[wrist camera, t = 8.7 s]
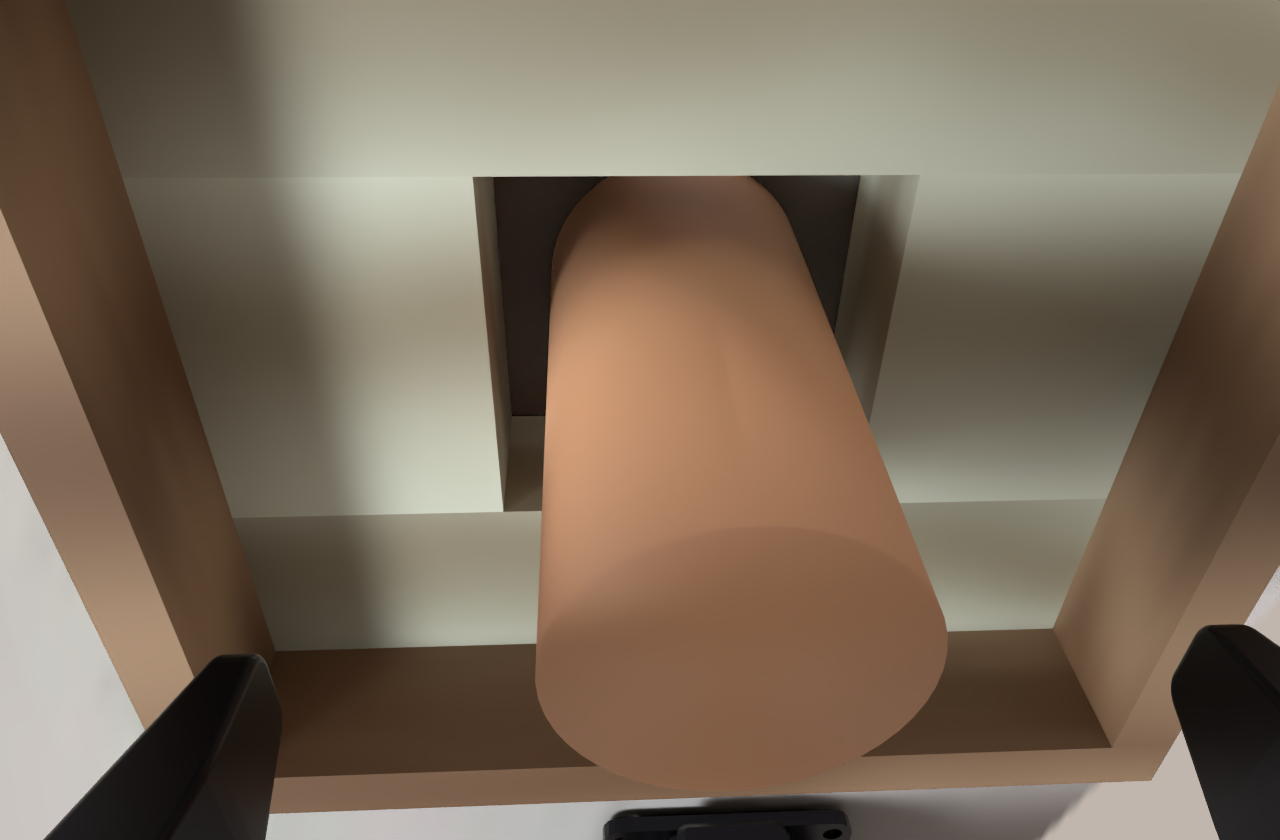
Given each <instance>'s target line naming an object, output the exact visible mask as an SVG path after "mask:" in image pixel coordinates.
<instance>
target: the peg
mask: <svg viewBox="0 0 1280 840" xmlns="http://www.w3.org/2000/svg"><path fill="white" fill-rule="evenodd" d="M947 650H948V633H947V628H946V622H945V617H944V615H943V612H942V610H941V607H940V605H939V602H938V600H937V597H936V594H935V592H934V589H933V587H932V584H931V582H930V579H929V577H928V574H927V571H926V569H925V566H924V564H923V561H922V559H921V556H920V554H919V551H918V548H917V546H916V543H915V541H914V538H913V536H912V533H911V531H910V528H909V526H908V523H907V520H906V518H905V515H904V513H903V510H902V508H901V505H900V503H899V500H898V497H897V495H896V492H895V490H894V487H893V485H892V482H891V480H890V477H889V475H888V472H887V469H886V467H885V464H884V462H883V459H882V457H881V454H880V452H879V449H878V446H877V444H876V441H875V439H874V436H873V434H872V431H871V429H870V426H869V423H868V421H867V418H866V416H865V413H864V411H863V408H862V406H861V403H860V401H859V398H858V395H857V393H856V390H855V388H854V385H853V383H852V380H851V378H850V375H849V372H848V370H847V367H846V365H845V362H844V360H843V357H842V355H841V352H840V349H839V347H838V344H837V342H836V339H835V337H834V334H833V332H832V329H831V327H830V324H829V321H828V319H827V316H826V314H825V311H824V309H823V306H822V304H821V301H820V298H819V296H818V293H817V291H816V288H815V286H814V283H813V281H812V278H811V276H810V273H809V270H808V268H807V265H806V263H805V260H804V258H803V255H802V253H801V250H800V247H799V245H798V242H797V240H796V237H795V235H794V232H793V230H792V227H791V225H790V222H789V220H788V218H787V216H786V214H785V212H784V211H783V209H782V207H781V206H780V204H779V203H778V202H777V200H776V199H775V198H774V197H773V196H772V194H771V193H770V192H769V191H768V190H767V189H766V188H764V187H763V186H762V185H761V184H760V183H759V182H758V181H756V180H755V179H753V178H752V177H750V176H609V177H608V178H606V179H604V180H603V181H601V182H600V183H598V184H597V185H596V186H595V187H594V188H592V189H591V190H590V191H589V192H588V193H587V194H586V195H585V196H584V197H583V198H582V199H581V200H580V201H579V202H578V203H577V204H576V206H575V207H574V208H573V210H572V211H571V213H570V214H569V216H568V217H567V219H566V221H565V223H564V224H563V226H562V228H561V230H560V232H559V235H558V238H557V241H556V244H555V248H554V254H553V259H552V276H551V301H550V325H549V350H548V374H547V399H546V423H545V448H544V472H543V497H542V521H541V546H540V570H539V595H538V619H537V644H536V669H535V684H536V690H537V695H538V700H539V702H540V705H541V707H542V710H543V712H544V715H545V716H546V718H547V720H548V721H549V723H550V724H551V726H552V727H553V729H554V730H555V731H556V732H557V734H558V735H559V736H560V737H561V738H562V739H563V740H564V741H565V742H566V743H567V744H568V745H569V746H570V747H572V748H573V749H574V750H575V751H577V752H578V753H579V754H580V755H582V756H583V757H585V758H587V759H588V760H590V761H591V762H593V763H595V764H596V765H598V766H600V767H602V768H605V769H607V770H609V771H611V772H613V773H615V774H618V775H621V776H624V777H627V778H629V779H632V780H635V781H639V782H643V783H647V784H651V785H655V786H660V787H666V788H673V789H679V790H692V791H738V790H751V789H758V788H765V787H771V786H777V785H781V784H786V783H790V782H795V781H799V780H802V779H805V778H809V777H812V776H815V775H818V774H821V773H824V772H827V771H829V770H832V769H834V768H837V767H839V766H842V765H844V764H846V763H848V762H850V761H852V760H854V759H856V758H858V757H860V756H862V755H864V754H866V753H867V752H869V751H871V750H872V749H874V748H876V747H877V746H879V745H881V744H882V743H883V742H885V741H886V740H887V739H889V738H890V737H891V736H893V735H894V734H896V733H897V732H898V731H899V730H900V729H902V728H903V727H904V726H905V725H906V724H907V723H908V722H909V721H910V720H911V719H912V718H913V717H914V716H915V715H916V714H917V713H918V711H919V710H920V709H921V708H922V707H923V706H924V704H925V703H926V702H927V700H928V699H929V697H930V696H931V694H932V692H933V691H934V689H935V688H936V686H937V684H938V681H939V679H940V677H941V674H942V672H943V670H944V665H945V661H946V656H947Z"/></svg>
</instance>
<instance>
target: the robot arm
mask: <svg viewBox="0 0 1280 840" xmlns="http://www.w3.org/2000/svg"><path fill="white" fill-rule="evenodd" d="M1171 696H1172V701H1173V705H1174V708H1175V710H1176V713H1177V716H1178V719H1179V722H1180V725H1181V728H1182V731H1183V734H1184V737H1185V740H1186V743H1187V746H1188V749H1189V752H1190V755H1191V758H1192V761H1193V764H1194V766H1195V770H1196V773H1197V776H1198V778H1199V782H1200V784H1201V788H1202V790H1203V793H1204V796H1205V799H1206V802H1207V805H1208V808H1209V811H1210V814H1211V817H1212V820H1213V823H1214V826H1215V829H1216V831H1217V834H1218V836H1219V839H1220V840H1280V646H1278V645H1277V644H1275V643H1274V642H1272V641H1271V640H1270V639H1268V638H1267V637H1265V636H1264V635H1263V634H1261V633H1260V632H1258V631H1257V630H1255V629H1253V628H1251V627H1249V626H1246V625H1241V624H1224V625H1207V626H1204V627H1203V628H1201V629H1200V630H1198V632H1197V633H1196V634H1195V636H1194V638H1193V640H1192V641H1191V643H1190V645H1189V647H1188V649H1187V650H1186V652H1185V654H1184V656H1183V658H1182V659H1181V661H1180V663H1179V665H1178V667H1177V668H1176V670H1175V672H1174V674H1173V676H1172V681H1171ZM282 722H283V719H282V708H281V704H280V701H279V698H278V695H277V692H276V689H275V686H274V683H273V681H272V678H271V675H270V672H269V669H268V666H267V663H266V661H265V659H264V658H263V657H262V656H261V655H259V654H224V655H219V656H217V657H215V658H213V659H212V660H211V661H210V662H208V663H207V664H206V666H205V667H204V668H203V669H202V670H201V671H200V672H199V673H198V674H197V675H196V676H195V677H194V678H193V679H192V681H191V682H190V683H189V684H188V685H187V686H186V687H185V688H184V689H183V690H182V691H181V692H180V693H179V695H178V696H177V697H176V698H175V699H174V700H173V701H172V702H171V703H170V704H169V705H168V706H167V707H166V708H165V710H164V711H163V712H162V713H161V714H160V715H159V716H158V717H157V718H156V719H155V720H154V721H153V722H152V724H151V725H150V726H149V727H148V728H147V729H146V730H145V731H144V732H143V733H142V734H141V735H140V736H139V737H138V739H137V740H136V741H135V742H134V743H133V744H132V745H131V746H130V747H129V748H128V749H127V750H126V751H125V753H124V754H123V755H122V756H121V757H120V758H119V759H118V760H117V761H116V762H115V763H114V764H113V765H112V766H111V768H110V769H109V770H108V771H107V772H106V773H105V774H104V775H103V776H102V777H101V778H100V779H99V780H98V782H97V783H96V784H95V785H94V786H93V787H92V788H91V789H90V790H89V791H88V792H87V793H86V794H85V795H84V797H83V798H82V799H81V800H80V801H79V802H78V803H77V804H76V805H75V806H74V807H73V808H72V810H71V811H70V812H69V813H68V814H67V815H66V816H65V817H64V818H63V819H62V820H61V821H60V823H59V824H58V825H57V826H56V827H55V828H54V829H53V830H52V831H51V832H50V833H49V834H48V835H47V836H46V837H45V839H44V840H265V838H266V831H267V825H268V818H269V812H270V805H271V799H272V792H273V786H274V779H275V773H276V766H277V760H278V753H279V747H280V740H281V734H282ZM850 836H851V828H850V824H849V819H848V815H847V814H846V813H845V812H843V811H840V810H808V811H782V812H756V813H730V814H704V815H679V816H653V817H627V818H617V819H613V820H610V821H608V822H607V823H606V824H605V825H604V827H603V840H850Z"/></svg>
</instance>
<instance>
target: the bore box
mask: <svg viewBox="0 0 1280 840" xmlns="http://www.w3.org/2000/svg"><path fill="white" fill-rule="evenodd" d="M756 175H861V176H860V182H859V188H858V194H857V201H856V207H855V213H854V219H853V225H852V231H851V237H850V243H849V249H848V255H847V261H846V267H845V273H844V280H843V286H842V292H841V298H840V304H839V310H838V316H837V322H836V328H835V334H834V337H835V339H836V342H837V344H838V347H839V349H840V352H841V355H842V357H843V360H844V362H845V365H846V367H847V370H848V372H849V375H850V378H851V380H852V383H853V385H854V388H855V390H856V393H857V395H858V398H859V401H860V403H861V406H862V408H863V411H864V413H865V416H866V418H867V421H868V423H869V426H870V429H871V431H872V434H873V436H874V439H875V441H876V444H877V446H878V449H879V452H880V454H881V457H882V459H883V462H884V464H885V467H886V469H887V472H888V475H889V477H890V480H891V482H892V485H893V487H894V490H895V492H896V495H897V497H898V500H899V503H900V505H901V508H902V510H903V513H904V515H905V518H906V520H907V523H908V526H909V528H910V531H911V533H912V536H913V538H914V541H915V543H916V546H917V548H918V551H919V554H920V556H921V559H922V561H923V564H924V566H925V569H926V571H927V574H928V577H929V579H930V582H931V584H932V587H933V589H934V592H935V594H936V597H937V600H938V602H939V605H940V607H941V610H942V612H943V615H944V617H945V622H946V628H947V633H948V650H947V656H946V661H945V665H944V670H943V672H942V674H941V677H940V679H939V681H938V684H937V686H936V688H935V689H934V691H933V692H932V694H931V696H930V697H929V699H928V700H927V702H926V703H925V704H924V706H923V707H922V708H921V709H920V710H919V711H918V713H917V714H916V715H915V716H914V717H913V718H912V719H911V720H910V721H909V722H908V723H907V724H906V725H905V726H904V727H903V728H902V729H900V730H899V731H898V732H897V733H896V734H894V735H893V736H891V737H890V738H889V739H887V740H886V741H885V742H883V743H882V744H881V745H879V746H877V747H876V748H874V749H872V750H871V751H869V752H867V753H866V754H864V755H862V756H860V757H858V758H856V759H854V760H852V761H850V762H848V763H846V764H844V765H842V766H839V767H837V768H834V769H832V770H829V771H827V772H824V773H821V774H818V775H815V776H812V777H809V778H805V779H802V780H799V781H795V782H790V783H786V784H781V785H777V786H771V787H765V788H758V789H751V790H738V791H692V790H679V789H673V788H666V787H660V786H655V785H651V784H647V783H643V782H639V781H635V780H632V779H629V778H627V777H624V776H621V775H618V774H615V773H613V772H611V771H609V770H607V769H605V768H602V767H600V766H598V765H596V764H595V763H593V762H591V761H590V760H588V759H587V758H585V757H583V756H582V755H580V754H579V753H578V752H577V751H575V750H574V749H573V748H572V747H570V746H569V745H568V744H567V743H566V742H565V741H564V740H563V739H562V738H561V737H560V736H559V735H558V734H557V732H556V731H555V730H554V729H553V727H552V726H551V724H550V723H549V721H548V720H547V718H546V716H545V715H544V712H543V710H542V707H541V705H540V702H539V700H538V695H537V690H536V684H535V669H536V644H537V619H538V595H539V570H540V546H541V521H542V497H543V472H544V448H545V423H546V416H512V413H511V401H510V388H509V375H508V362H507V350H506V337H505V324H504V311H503V299H502V286H501V273H500V260H499V248H498V235H497V222H496V209H495V197H494V184H493V177H524V176H756ZM0 433H1V435H2V437H3V439H4V441H5V443H6V445H7V447H8V450H9V452H10V454H11V456H12V458H13V460H14V462H15V464H16V466H17V468H18V470H19V472H20V474H21V476H22V478H23V480H24V482H25V484H26V486H27V489H28V491H29V493H30V495H31V497H32V499H33V501H34V503H35V505H36V507H37V509H38V511H39V513H40V515H41V517H42V519H43V521H44V523H45V526H46V528H47V530H48V532H49V534H50V536H51V538H52V540H53V542H54V544H55V546H56V548H57V550H58V552H59V554H60V556H61V558H62V560H63V562H64V565H65V567H66V569H67V571H68V573H69V575H70V577H71V579H72V581H73V583H74V585H75V587H76V589H77V591H78V593H79V595H80V597H81V599H82V602H83V604H84V606H85V608H86V610H87V612H88V614H89V616H90V618H91V620H92V622H93V624H94V626H95V628H96V630H97V632H98V634H99V636H100V639H101V641H102V643H103V645H104V647H105V649H106V651H107V653H108V655H109V657H110V659H111V661H112V663H113V665H114V667H115V669H116V671H117V673H118V675H119V678H120V680H121V682H122V684H123V686H124V688H125V690H126V692H127V694H128V696H129V698H130V700H131V702H132V704H133V706H134V708H135V710H136V712H137V715H138V717H139V719H140V721H141V723H142V725H143V727H144V729H145V730H146V729H147V728H148V727H149V726H150V725H151V724H152V722H153V721H154V720H155V719H156V718H157V717H158V716H159V715H160V714H161V713H162V712H163V711H164V710H165V708H166V707H167V706H168V705H169V704H170V703H171V702H172V701H173V700H174V699H175V698H176V697H177V696H178V695H179V693H180V692H181V691H182V690H183V689H184V688H185V687H186V686H187V685H188V684H189V683H190V682H191V681H192V679H193V678H194V677H195V676H196V675H197V674H198V673H199V672H200V671H201V670H202V669H203V668H204V667H205V666H206V664H207V663H208V662H210V661H211V660H212V659H213V658H215V657H217V656H219V655H224V654H259V655H261V656H262V657H263V658H264V659H265V661H266V663H267V666H268V669H269V672H270V675H271V678H272V681H273V683H274V686H275V689H276V692H277V695H278V698H279V701H280V704H281V708H282V719H283V722H282V734H281V740H280V747H279V753H278V760H277V766H276V773H275V779H274V786H273V792H272V799H271V805H270V812H269V814H276V813H302V812H329V811H355V810H381V809H408V808H434V807H461V806H487V805H514V804H540V803H567V802H593V801H620V800H646V799H673V798H699V797H726V796H752V795H779V794H805V793H832V792H858V791H884V790H911V789H937V788H964V787H990V786H1017V785H1043V784H1070V783H1096V782H1123V781H1148V780H1152V778H1153V776H1154V775H1155V773H1156V771H1157V769H1158V768H1159V766H1160V765H1161V763H1162V761H1163V760H1164V758H1165V756H1166V755H1167V753H1168V751H1169V749H1170V748H1171V746H1172V744H1173V742H1174V741H1175V739H1176V738H1177V736H1178V734H1179V733H1180V731H1181V729H1182V728H1181V725H1180V722H1179V719H1178V716H1177V713H1176V710H1175V708H1174V705H1173V701H1172V696H1171V681H1172V676H1173V674H1174V672H1175V670H1176V668H1177V667H1178V665H1179V663H1180V661H1181V659H1182V658H1183V656H1184V654H1185V652H1186V650H1187V649H1188V647H1189V645H1190V643H1191V641H1192V640H1193V638H1194V636H1195V634H1196V633H1197V632H1198V630H1200V629H1201V628H1203V627H1204V626H1207V625H1224V624H1241V625H1244V623H1245V622H1246V620H1247V618H1248V617H1249V615H1250V613H1251V612H1252V610H1253V608H1254V606H1255V605H1256V603H1257V601H1258V600H1259V598H1260V596H1261V595H1262V593H1263V591H1264V590H1265V588H1266V586H1267V585H1268V583H1269V581H1270V580H1271V578H1272V576H1273V574H1274V573H1275V571H1276V569H1277V568H1278V566H1279V564H1280V0H0Z"/></svg>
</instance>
